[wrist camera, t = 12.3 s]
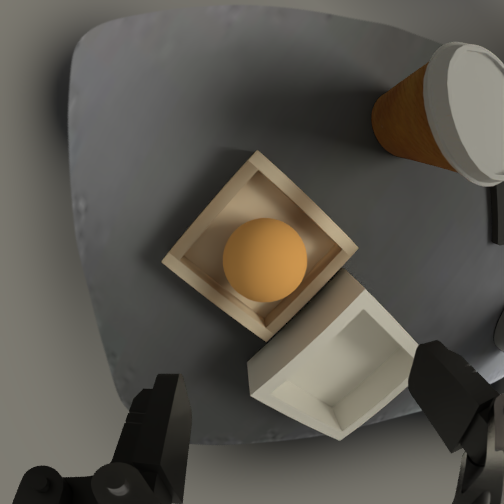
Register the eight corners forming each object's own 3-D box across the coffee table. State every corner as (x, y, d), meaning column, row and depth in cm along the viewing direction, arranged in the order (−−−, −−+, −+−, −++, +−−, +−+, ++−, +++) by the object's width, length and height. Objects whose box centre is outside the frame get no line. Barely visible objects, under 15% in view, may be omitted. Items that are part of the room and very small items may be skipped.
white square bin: (410, 337, 29) (433, 361, 24) (328, 411, 31) (339, 440, 26) (343, 267, 26) (365, 288, 21) (246, 361, 28) (250, 395, 23)
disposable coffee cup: (390, 194, 25) (484, 219, 13) (333, 103, 22) (410, 63, 11) (451, 144, 23) (543, 148, 12) (404, 61, 21) (487, 24, 9)
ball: (312, 245, 24) (335, 269, 19) (263, 296, 25) (271, 333, 20) (258, 196, 23) (267, 206, 17) (208, 252, 24) (201, 279, 18)
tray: (347, 240, 25) (358, 248, 23) (263, 327, 27) (266, 342, 25) (254, 151, 23) (257, 150, 20) (167, 252, 25) (161, 261, 22)
